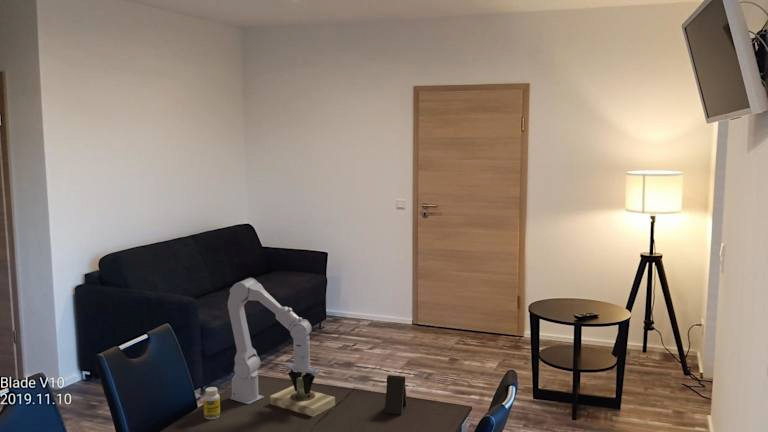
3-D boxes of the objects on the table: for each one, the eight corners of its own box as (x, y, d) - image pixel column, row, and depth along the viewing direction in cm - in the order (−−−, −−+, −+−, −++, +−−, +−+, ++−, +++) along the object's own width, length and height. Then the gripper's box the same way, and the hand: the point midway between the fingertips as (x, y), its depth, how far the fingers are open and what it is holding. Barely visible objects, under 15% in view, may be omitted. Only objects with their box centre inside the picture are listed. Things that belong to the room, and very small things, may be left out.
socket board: (270, 404, 240) (270, 395, 239) (293, 393, 249) (292, 385, 249) (313, 416, 228) (313, 407, 228) (335, 405, 238) (335, 396, 238)
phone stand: (401, 415, 229) (401, 381, 228) (384, 413, 231) (384, 379, 229) (407, 405, 238) (407, 372, 237) (391, 403, 239) (390, 371, 238)
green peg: (294, 401, 238) (294, 379, 237) (302, 397, 241) (301, 376, 241) (303, 403, 236) (302, 381, 235) (310, 400, 239) (310, 378, 238)
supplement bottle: (206, 421, 225) (205, 392, 224) (202, 415, 230) (201, 387, 229) (222, 417, 228) (221, 390, 227) (218, 412, 233) (217, 385, 232)
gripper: (278, 354, 238) (279, 391, 239) (310, 361, 229) (310, 399, 231) (292, 349, 243) (293, 385, 245) (323, 356, 235) (323, 393, 237)
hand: (302, 392), depth 238 cm, fingers closed on green peg, 4 cm apart
